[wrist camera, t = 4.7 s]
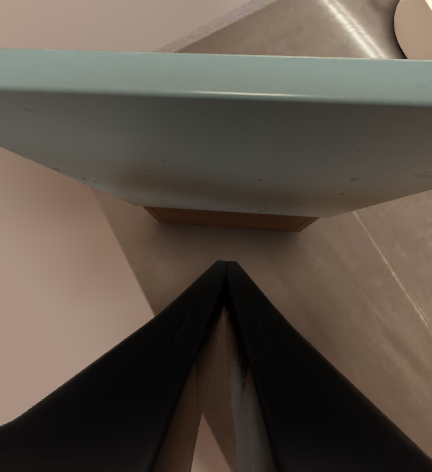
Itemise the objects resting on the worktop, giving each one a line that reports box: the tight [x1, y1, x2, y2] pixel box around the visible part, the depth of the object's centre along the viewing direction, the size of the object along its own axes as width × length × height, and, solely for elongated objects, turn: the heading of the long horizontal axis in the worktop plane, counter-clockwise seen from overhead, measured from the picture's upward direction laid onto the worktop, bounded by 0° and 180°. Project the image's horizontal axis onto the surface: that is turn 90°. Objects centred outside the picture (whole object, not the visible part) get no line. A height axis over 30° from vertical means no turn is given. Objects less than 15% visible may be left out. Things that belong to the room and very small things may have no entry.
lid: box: [0, 48, 432, 218], centre depth 10 cm, size 13×15×1 cm
